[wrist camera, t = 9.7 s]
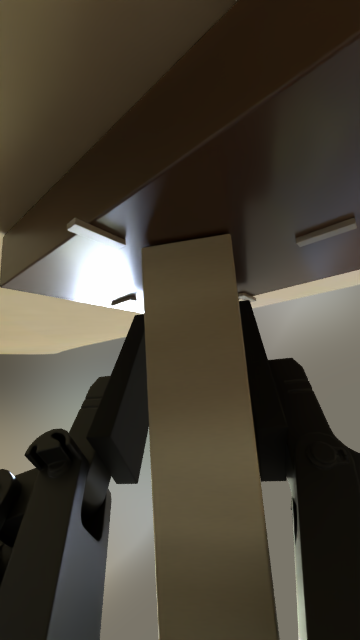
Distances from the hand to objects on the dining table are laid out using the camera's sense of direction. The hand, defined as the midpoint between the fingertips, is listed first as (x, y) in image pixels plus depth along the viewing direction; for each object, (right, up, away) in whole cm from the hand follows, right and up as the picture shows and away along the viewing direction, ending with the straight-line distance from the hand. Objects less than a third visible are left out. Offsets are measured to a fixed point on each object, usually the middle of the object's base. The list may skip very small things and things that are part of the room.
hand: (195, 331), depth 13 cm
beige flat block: (0, +2, -4) cm, 4 cm away
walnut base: (0, +4, -3) cm, 5 cm away
